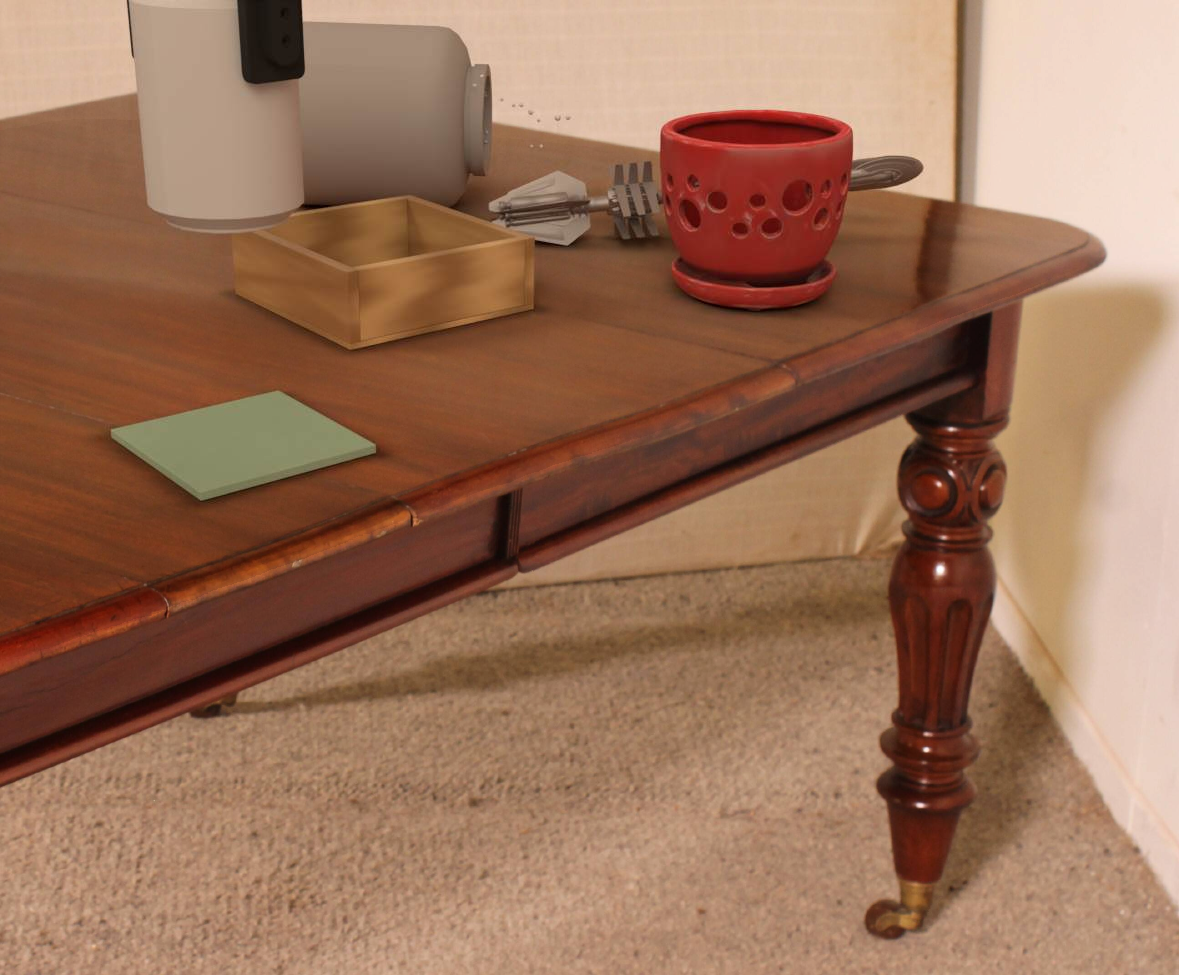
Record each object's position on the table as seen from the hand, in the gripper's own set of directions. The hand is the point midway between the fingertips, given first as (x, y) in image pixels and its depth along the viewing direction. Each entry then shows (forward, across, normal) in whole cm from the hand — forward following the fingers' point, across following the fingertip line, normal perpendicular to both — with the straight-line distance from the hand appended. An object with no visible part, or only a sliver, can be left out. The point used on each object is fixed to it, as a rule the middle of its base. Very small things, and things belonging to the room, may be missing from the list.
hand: (217, 67), depth 70 cm
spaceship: (+20, -7, +52) cm, 56 cm away
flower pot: (+19, +3, +42) cm, 46 cm away
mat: (+19, 0, 0) cm, 19 cm away
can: (+7, 0, 0) cm, 7 cm away
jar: (+19, -32, +45) cm, 58 cm away
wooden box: (+19, -13, +23) cm, 33 cm away
